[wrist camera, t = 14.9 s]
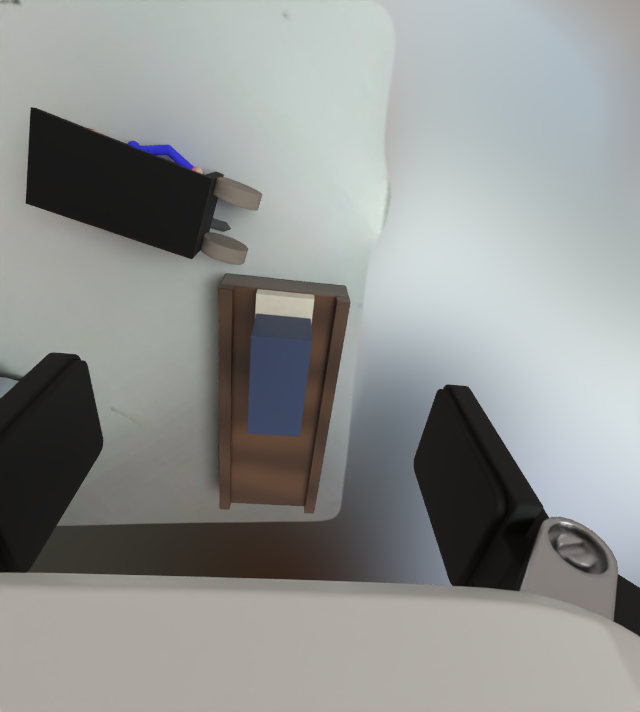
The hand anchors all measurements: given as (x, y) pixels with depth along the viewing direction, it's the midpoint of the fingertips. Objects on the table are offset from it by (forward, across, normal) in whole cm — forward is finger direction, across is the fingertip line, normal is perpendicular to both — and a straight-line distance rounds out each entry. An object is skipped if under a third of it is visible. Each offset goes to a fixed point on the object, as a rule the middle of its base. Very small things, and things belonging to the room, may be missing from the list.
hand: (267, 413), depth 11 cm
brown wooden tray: (+27, 0, +20) cm, 34 cm away
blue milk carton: (+24, 0, +12) cm, 27 cm away
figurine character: (+28, +10, -1) cm, 29 cm away
